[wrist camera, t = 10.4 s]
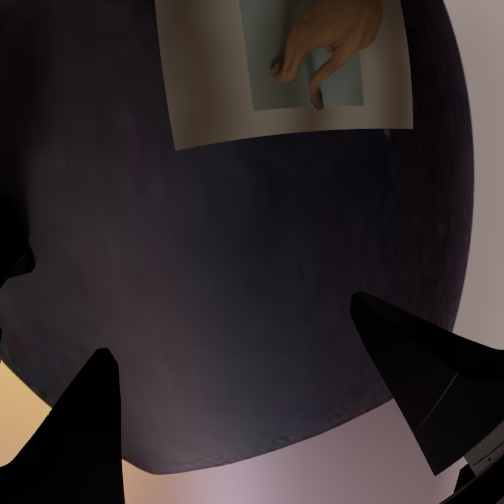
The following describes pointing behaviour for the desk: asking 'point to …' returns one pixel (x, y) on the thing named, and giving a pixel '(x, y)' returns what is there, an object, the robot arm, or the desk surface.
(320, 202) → the desk surface
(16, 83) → the desk surface
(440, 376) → the robot arm
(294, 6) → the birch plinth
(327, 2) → the lion figurine
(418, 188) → the desk surface
